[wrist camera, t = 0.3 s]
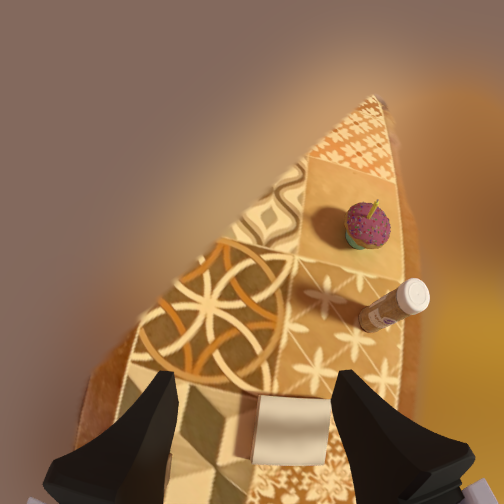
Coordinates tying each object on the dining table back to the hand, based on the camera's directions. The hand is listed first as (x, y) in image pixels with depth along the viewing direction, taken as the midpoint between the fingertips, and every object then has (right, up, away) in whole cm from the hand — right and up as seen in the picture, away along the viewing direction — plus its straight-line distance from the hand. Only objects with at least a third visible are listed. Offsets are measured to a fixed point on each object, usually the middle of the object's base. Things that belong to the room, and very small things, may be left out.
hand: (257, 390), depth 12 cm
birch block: (+5, -19, +25) cm, 32 cm away
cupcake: (+19, +8, +40) cm, 45 cm away
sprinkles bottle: (+19, -5, +34) cm, 39 cm away
